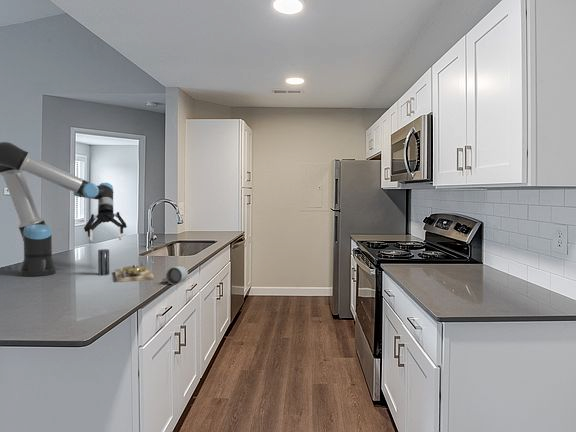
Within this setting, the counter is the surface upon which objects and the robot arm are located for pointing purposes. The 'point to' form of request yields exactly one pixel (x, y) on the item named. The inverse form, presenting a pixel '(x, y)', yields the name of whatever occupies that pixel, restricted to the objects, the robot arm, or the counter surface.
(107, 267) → the pinion
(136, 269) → the gear
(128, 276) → the board
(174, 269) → the ceramic mug
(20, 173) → the robot arm
